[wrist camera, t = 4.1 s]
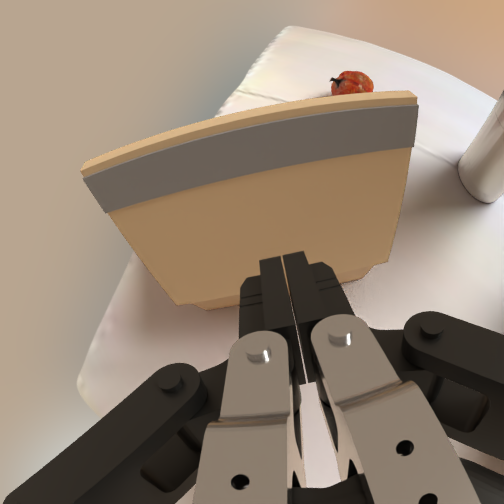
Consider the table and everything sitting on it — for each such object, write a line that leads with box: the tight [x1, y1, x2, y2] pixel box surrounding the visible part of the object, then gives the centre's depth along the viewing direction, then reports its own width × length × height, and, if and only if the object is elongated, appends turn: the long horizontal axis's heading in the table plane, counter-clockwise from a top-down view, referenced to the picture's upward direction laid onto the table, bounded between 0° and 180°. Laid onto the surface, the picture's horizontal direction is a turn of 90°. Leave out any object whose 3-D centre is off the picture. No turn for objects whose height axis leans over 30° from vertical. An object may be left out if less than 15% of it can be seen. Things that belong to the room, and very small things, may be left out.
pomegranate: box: [330, 71, 374, 96], centre depth 42 cm, size 7×7×10 cm
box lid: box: [81, 91, 419, 306], centre depth 21 cm, size 16×20×1 cm
